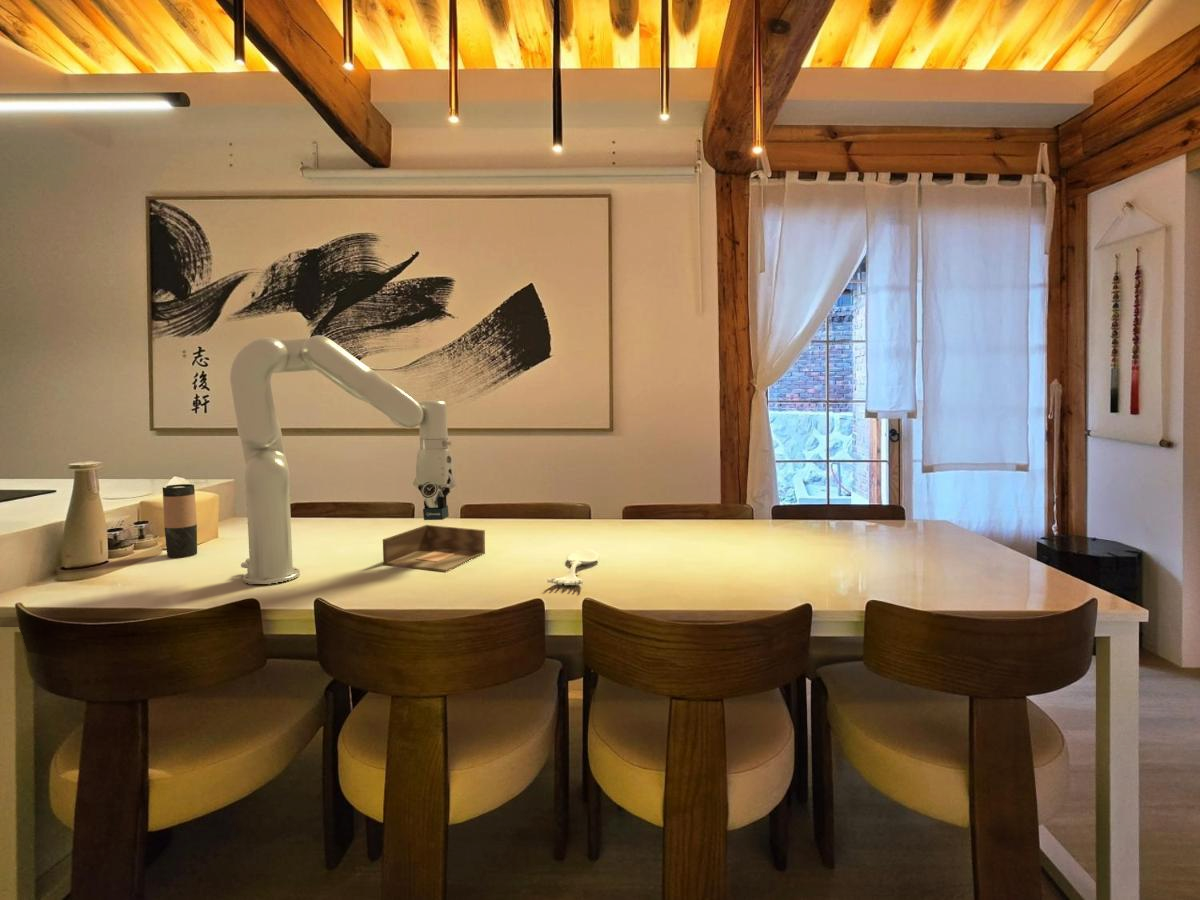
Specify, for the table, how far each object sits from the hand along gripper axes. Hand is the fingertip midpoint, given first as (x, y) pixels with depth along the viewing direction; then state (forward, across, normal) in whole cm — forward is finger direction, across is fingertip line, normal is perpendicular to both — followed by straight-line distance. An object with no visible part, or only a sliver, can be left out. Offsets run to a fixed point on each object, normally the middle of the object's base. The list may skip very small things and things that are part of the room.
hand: (435, 509), depth 174 cm
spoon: (+15, -42, -1) cm, 45 cm away
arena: (+14, 0, 0) cm, 14 cm away
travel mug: (+14, +70, +22) cm, 75 cm away
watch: (+3, 0, 0) cm, 3 cm away
